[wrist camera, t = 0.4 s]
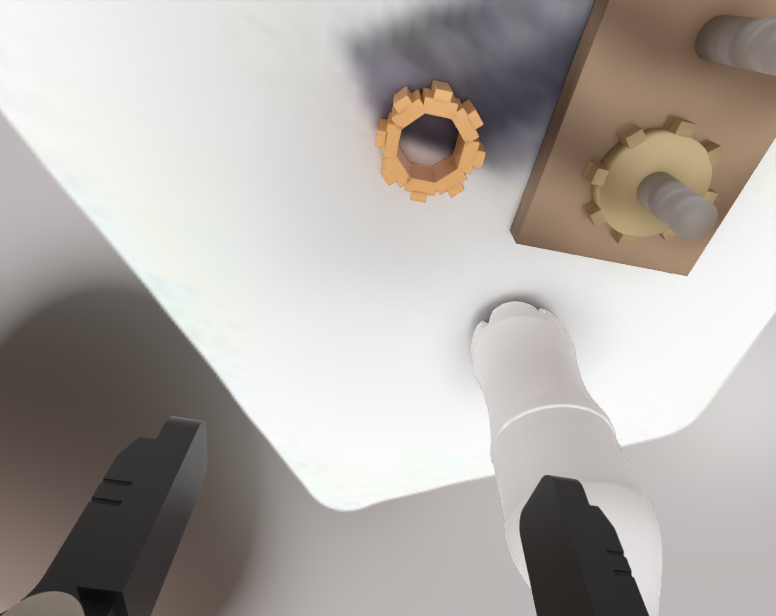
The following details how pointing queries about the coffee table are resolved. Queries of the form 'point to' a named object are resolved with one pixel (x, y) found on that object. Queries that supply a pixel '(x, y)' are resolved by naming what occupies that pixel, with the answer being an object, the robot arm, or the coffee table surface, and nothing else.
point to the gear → (448, 170)
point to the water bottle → (557, 435)
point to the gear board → (645, 92)
